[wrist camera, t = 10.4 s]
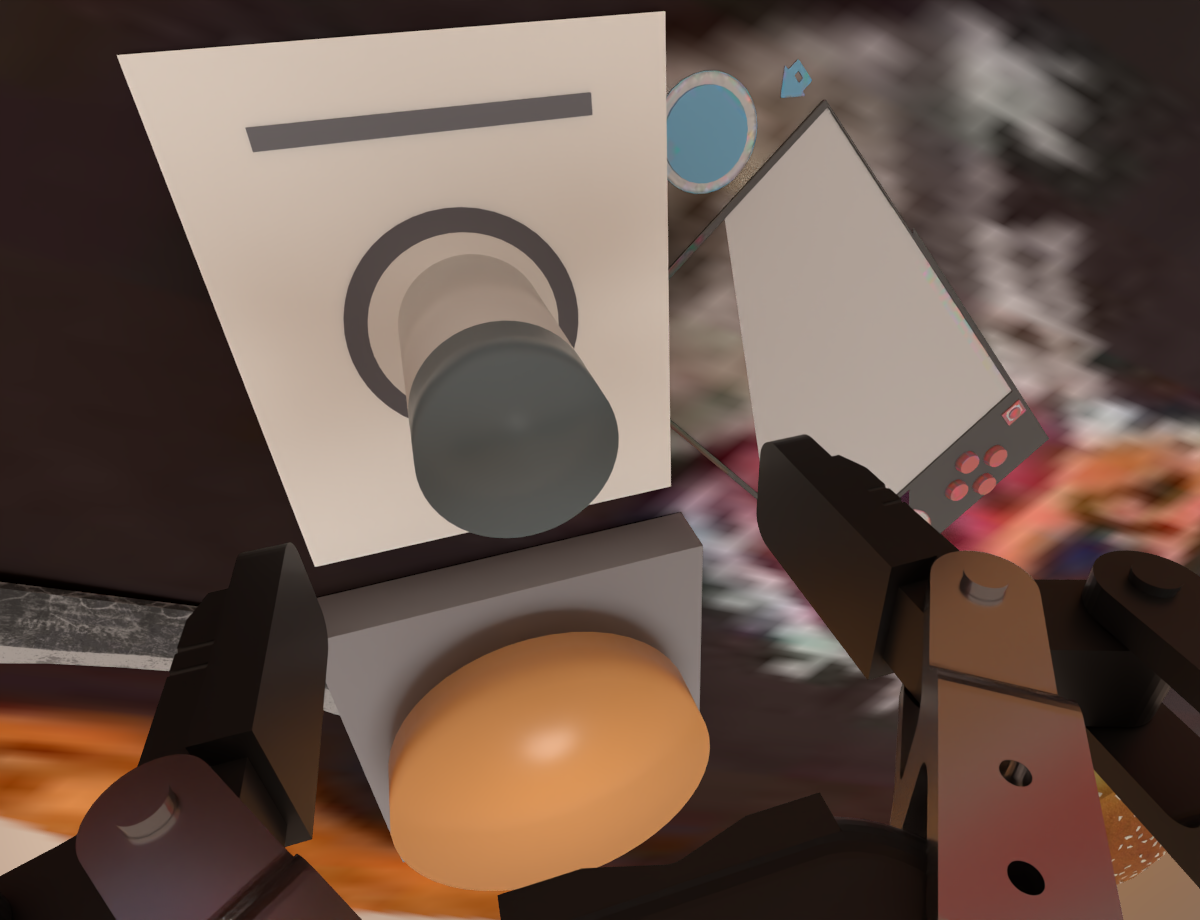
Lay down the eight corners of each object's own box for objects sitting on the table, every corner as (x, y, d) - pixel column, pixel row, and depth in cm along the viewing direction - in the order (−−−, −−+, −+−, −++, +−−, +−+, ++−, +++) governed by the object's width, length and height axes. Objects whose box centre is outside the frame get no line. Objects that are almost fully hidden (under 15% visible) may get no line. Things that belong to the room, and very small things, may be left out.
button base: (681, 512, 25) (702, 545, 24) (681, 731, 32) (698, 768, 31) (312, 598, 23) (309, 642, 21) (400, 816, 30) (403, 862, 28)
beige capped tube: (536, 244, 18) (613, 342, 13) (550, 379, 21) (622, 514, 15) (382, 265, 18) (392, 381, 12) (414, 403, 20) (436, 557, 14)
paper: (660, 11, 17) (667, 10, 16) (668, 481, 24) (672, 488, 24) (121, 54, 14) (114, 55, 14) (315, 561, 22) (314, 570, 22)
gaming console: (1054, 442, 29) (872, 600, 31) (1041, 434, 29) (863, 589, 31) (759, -22, 17) (494, 287, 19) (746, -21, 17) (490, 280, 19)
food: (1117, 741, 48) (1236, 853, 41) (938, 835, 47) (1030, 963, 41) (1137, 621, 40) (1288, 737, 33) (921, 733, 39) (1032, 872, 33)
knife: (492, 708, 30) (541, 624, 28) (502, 748, 28) (554, 661, 27) (-478, 638, 17) (-501, 472, 15) (-561, 704, 15) (-597, 528, 14)
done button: (688, 597, 23) (713, 640, 21) (687, 786, 29) (706, 831, 27) (350, 685, 21) (349, 741, 19) (424, 871, 27) (428, 925, 25)
